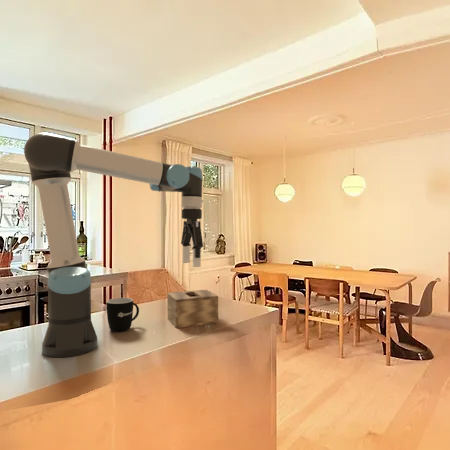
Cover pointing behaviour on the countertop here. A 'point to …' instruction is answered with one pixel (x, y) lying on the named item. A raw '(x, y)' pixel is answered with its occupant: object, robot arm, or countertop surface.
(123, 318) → the mug
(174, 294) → the coin box
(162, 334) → the countertop surface
